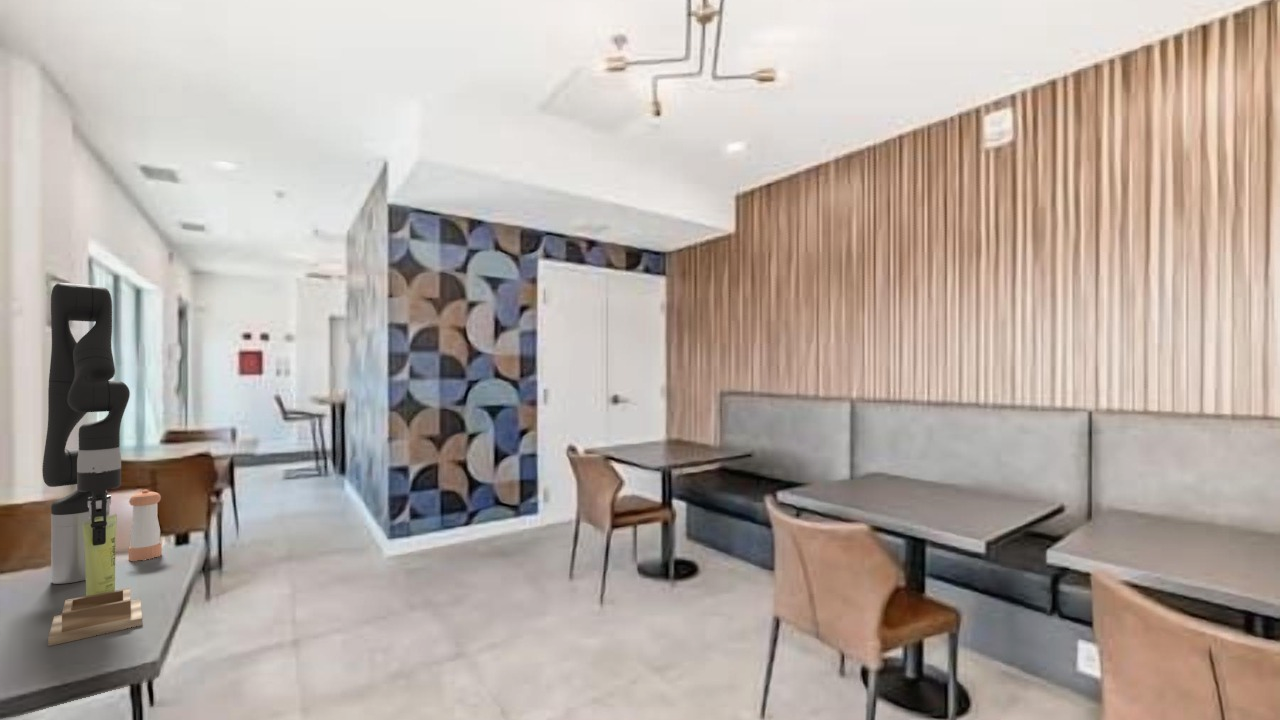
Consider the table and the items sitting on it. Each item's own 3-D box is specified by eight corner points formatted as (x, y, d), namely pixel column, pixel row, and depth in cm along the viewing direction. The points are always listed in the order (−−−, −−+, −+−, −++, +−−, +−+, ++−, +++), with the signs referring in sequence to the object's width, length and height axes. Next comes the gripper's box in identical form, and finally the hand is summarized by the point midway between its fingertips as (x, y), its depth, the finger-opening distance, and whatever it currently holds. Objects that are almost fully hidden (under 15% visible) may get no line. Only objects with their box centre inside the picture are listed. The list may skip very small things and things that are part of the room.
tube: (112, 605, 137) (112, 518, 137) (82, 610, 134) (82, 522, 134) (117, 597, 142) (116, 513, 142) (88, 602, 139) (88, 516, 139)
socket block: (54, 623, 127) (54, 599, 127) (140, 605, 136) (140, 583, 136) (48, 646, 117) (48, 620, 117) (142, 625, 126) (142, 601, 126)
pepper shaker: (122, 562, 168) (122, 492, 168) (139, 554, 175) (139, 487, 175) (151, 560, 169) (151, 491, 169) (167, 552, 176) (167, 486, 176)
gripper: (78, 466, 141) (78, 537, 141) (75, 474, 130) (75, 551, 130) (121, 462, 146) (121, 531, 146) (121, 470, 135) (121, 544, 135)
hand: (99, 541), depth 138 cm, fingers open, 6 cm apart
